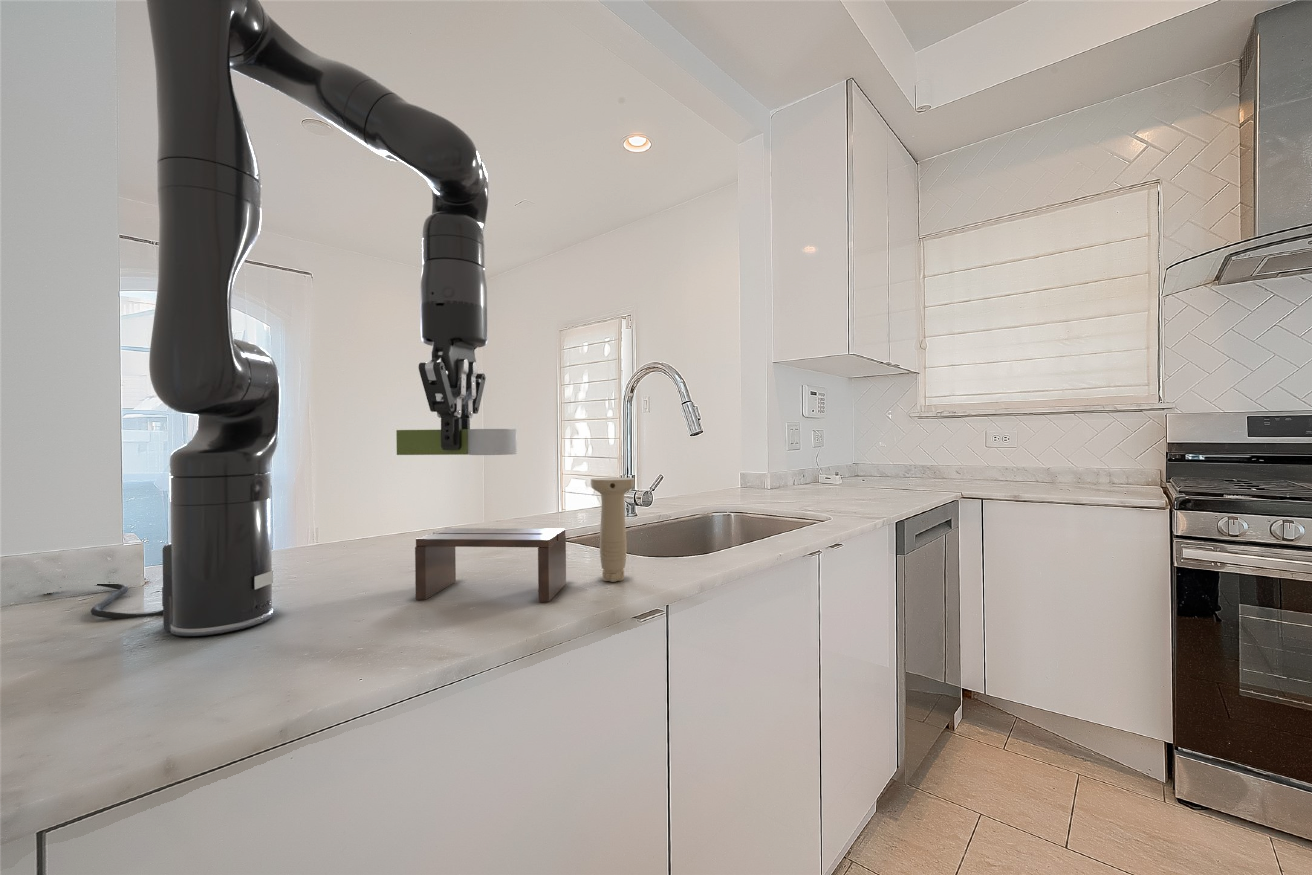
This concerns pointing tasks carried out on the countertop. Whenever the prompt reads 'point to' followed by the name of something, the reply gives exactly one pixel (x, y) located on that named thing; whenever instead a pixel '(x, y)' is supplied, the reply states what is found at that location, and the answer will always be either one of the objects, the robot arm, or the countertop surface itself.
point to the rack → (439, 548)
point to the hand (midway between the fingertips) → (455, 449)
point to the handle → (612, 525)
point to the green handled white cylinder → (471, 442)
